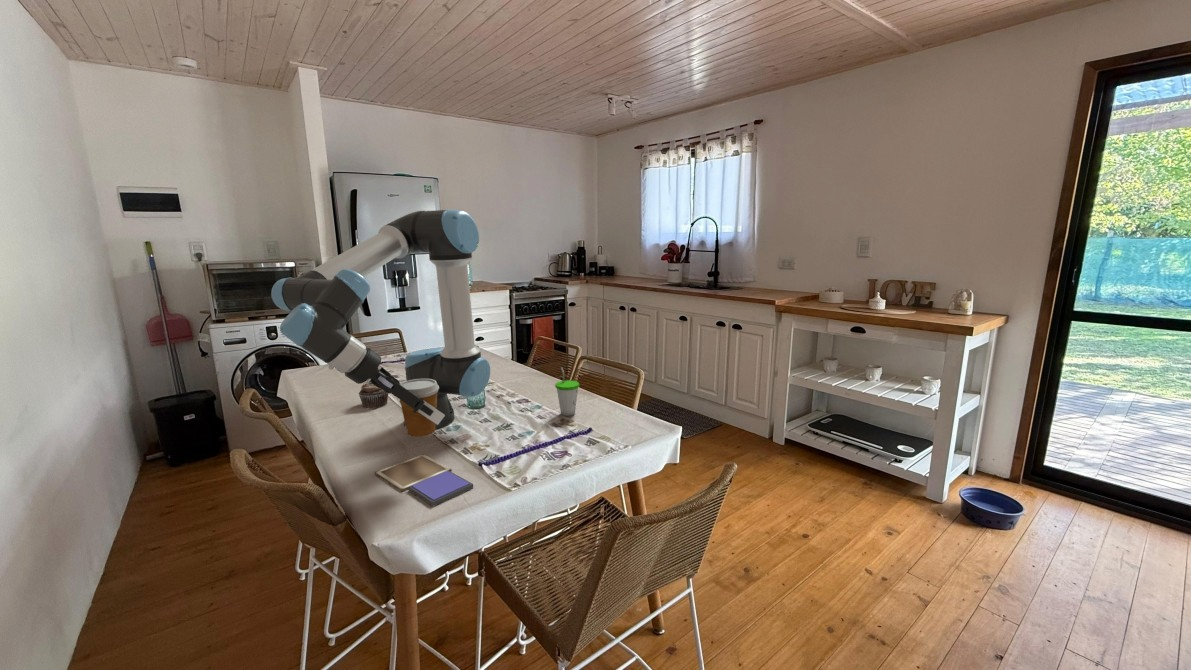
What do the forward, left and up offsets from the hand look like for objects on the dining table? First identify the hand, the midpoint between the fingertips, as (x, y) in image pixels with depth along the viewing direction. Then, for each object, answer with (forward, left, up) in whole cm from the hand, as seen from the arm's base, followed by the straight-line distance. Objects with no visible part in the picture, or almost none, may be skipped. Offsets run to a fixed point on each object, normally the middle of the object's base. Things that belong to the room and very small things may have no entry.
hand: (433, 413), depth 118 cm
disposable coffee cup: (+3, -1, -4) cm, 5 cm away
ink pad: (+4, +8, -15) cm, 18 cm away
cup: (-50, -4, -16) cm, 53 cm away
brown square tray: (+4, -5, -15) cm, 17 cm away
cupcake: (-13, -62, -16) cm, 65 cm away
